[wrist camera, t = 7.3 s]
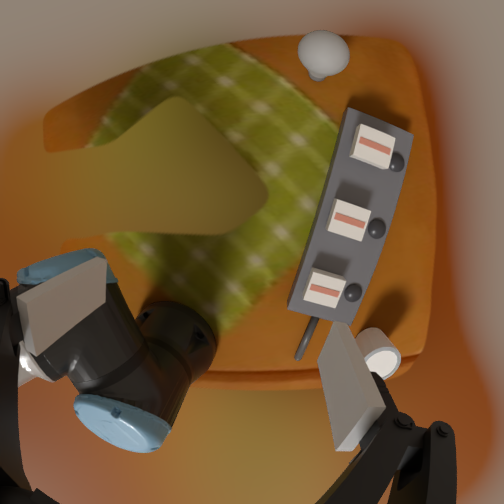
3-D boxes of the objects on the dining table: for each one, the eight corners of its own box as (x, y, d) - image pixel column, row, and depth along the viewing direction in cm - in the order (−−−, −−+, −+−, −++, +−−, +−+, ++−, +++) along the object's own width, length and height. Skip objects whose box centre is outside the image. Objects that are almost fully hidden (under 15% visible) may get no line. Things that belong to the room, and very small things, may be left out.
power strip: (268, 350, 43) (267, 362, 40) (343, 112, 33) (348, 106, 30) (323, 363, 43) (325, 375, 40) (405, 137, 33) (414, 134, 29)
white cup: (381, 317, 40) (396, 339, 33) (391, 346, 41) (404, 369, 34) (344, 335, 41) (353, 360, 35) (357, 363, 42) (365, 389, 36)
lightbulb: (317, 102, 33) (329, 73, 23) (286, 74, 32) (287, 38, 22) (345, 78, 32) (365, 46, 21) (315, 52, 31) (324, 14, 20)
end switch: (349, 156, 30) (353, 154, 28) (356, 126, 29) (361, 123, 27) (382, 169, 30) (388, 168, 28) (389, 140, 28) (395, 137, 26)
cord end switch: (302, 293, 37) (303, 300, 35) (311, 267, 36) (313, 272, 34) (333, 302, 37) (335, 308, 35) (343, 276, 36) (346, 281, 34)
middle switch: (325, 228, 34) (327, 230, 32) (334, 198, 33) (337, 199, 31) (357, 238, 34) (361, 241, 32) (366, 209, 33) (371, 211, 31)
